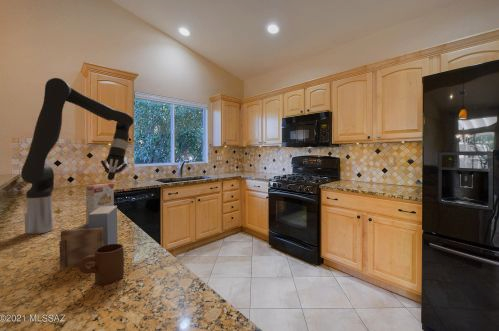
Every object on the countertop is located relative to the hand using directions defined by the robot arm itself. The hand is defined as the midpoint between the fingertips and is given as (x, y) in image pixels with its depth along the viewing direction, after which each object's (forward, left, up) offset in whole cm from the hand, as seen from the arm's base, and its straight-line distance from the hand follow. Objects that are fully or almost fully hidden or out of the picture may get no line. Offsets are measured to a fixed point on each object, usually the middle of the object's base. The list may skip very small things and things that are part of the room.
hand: (110, 179), depth 119 cm
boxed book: (+6, -31, -25) cm, 40 cm away
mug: (+12, -57, -25) cm, 64 cm away
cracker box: (-10, +17, -25) cm, 32 cm away
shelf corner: (+2, -28, -25) cm, 38 cm away
